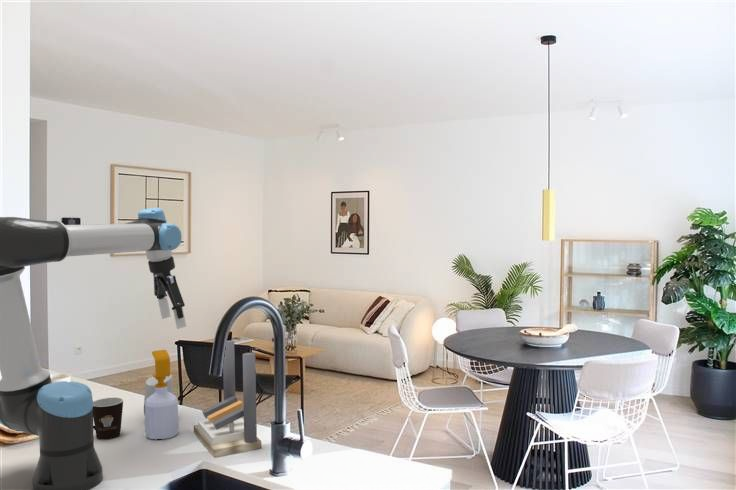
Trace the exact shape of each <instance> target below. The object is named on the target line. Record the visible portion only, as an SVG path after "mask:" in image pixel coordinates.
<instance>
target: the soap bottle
mask: <svg viewBox="0 0 736 490" xmlns="http://www.w3.org/2000/svg"><path fill="white" fill-rule="evenodd" d="M151 354H152V356H153V358H154V359H153V360H154V364H155V365H154V367H155V368H154V370H155V373H152V374H151V375H152V376H153V377H154V378H156V380H158V384H155V393H154V394H152V395H151V396H149V397H148V398H147V400H146V402H145V415H144V420H145V423H144V425H145V428H144V429H145V437H146V438H147V439H150V440H154V439H155V440H156V441H158V440H157V439H162V440H166V439H171V438H173V437H175V436H177V435H178V434H179V432H180V431H179V402H178V401H179V400H178V397H177V396H176V395H175V394H174V395H173V394H172V393H170V392H168V391H167V383H164V379H166V377H167V376H170V374H171V359H170V354H169V353H168V351H167V350H166V349H161V350H153V351H152V352H151Z"/></svg>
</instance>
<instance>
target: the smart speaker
mask: <svg viewBox="0 0 736 490" xmlns="http://www.w3.org/2000/svg"><path fill="white" fill-rule="evenodd" d="M164 383H167V391H168V392H170V393H172V394H173V395H175V390H174V381H173V375H172V373H170V376H167V377H166V379H164ZM155 384H158V380H156V378H154V377H153V376H150V377H149V378H147V379H146V380H145V386H144V400H143V415H144V416H145V402H146V400H147V398H148V397H149V396H151V395H152V394H154V393H155Z"/></svg>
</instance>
